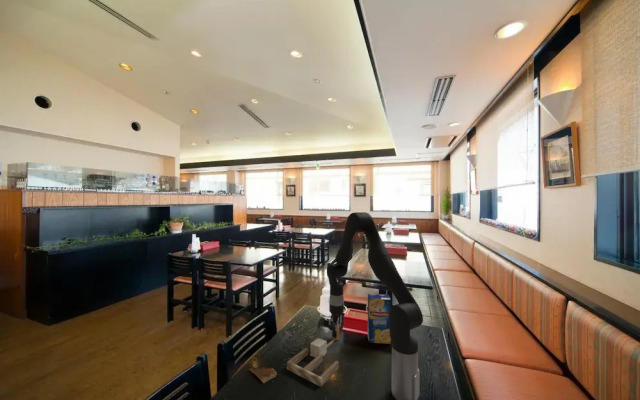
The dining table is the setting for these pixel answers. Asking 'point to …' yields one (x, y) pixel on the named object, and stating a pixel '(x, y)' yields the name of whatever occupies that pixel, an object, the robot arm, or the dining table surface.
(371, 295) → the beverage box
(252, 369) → the shard
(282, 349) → the dining table surface
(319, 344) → the corded block
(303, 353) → the birch lanes
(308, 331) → the dining table surface
